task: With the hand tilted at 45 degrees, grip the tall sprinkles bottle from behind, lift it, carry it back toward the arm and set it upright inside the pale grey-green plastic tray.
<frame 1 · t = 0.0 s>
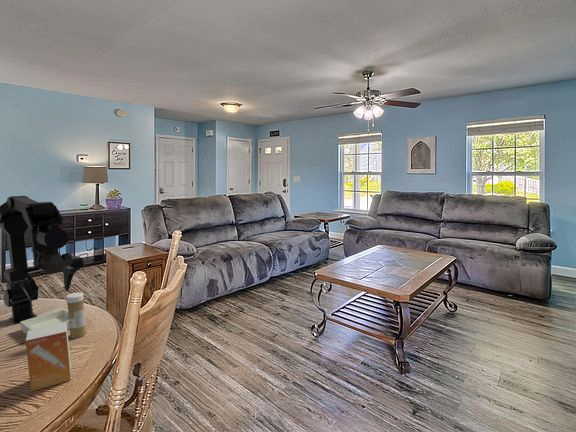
hand: (49, 295, 100), 15 cm above the table, tool pointing down, fingers open, 9 cm apart
small box: (52, 380, 83), on the table
tray: (51, 327, 111), on the table
sprinkles bottle: (78, 335, 106), on the table
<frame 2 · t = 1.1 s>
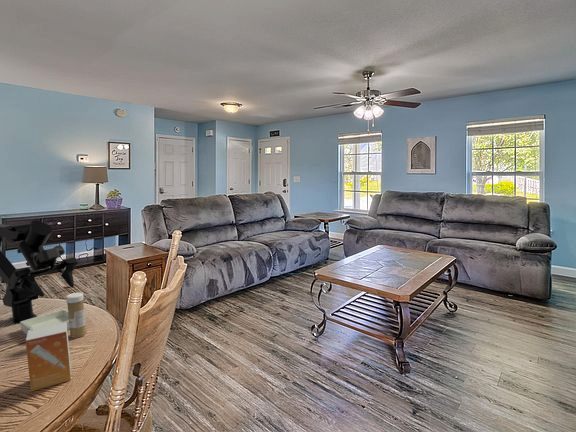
hand: (58, 291, 107), 13 cm above the table, tool tilted 45°, fingers open, 9 cm apart
nothing on the table moved.
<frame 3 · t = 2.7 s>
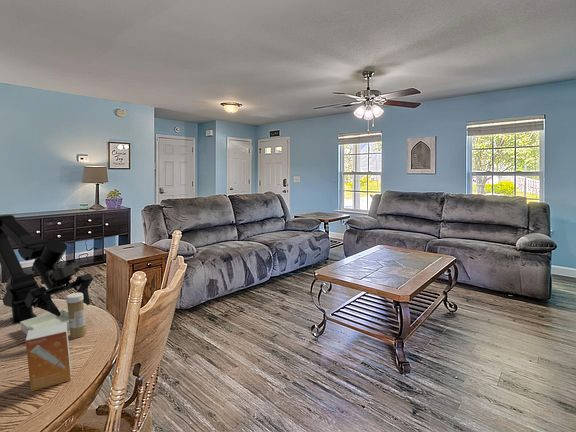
hand: (74, 309, 105), 8 cm above the table, tool tilted 45°, fingers open, 9 cm apart
nothing on the table moved.
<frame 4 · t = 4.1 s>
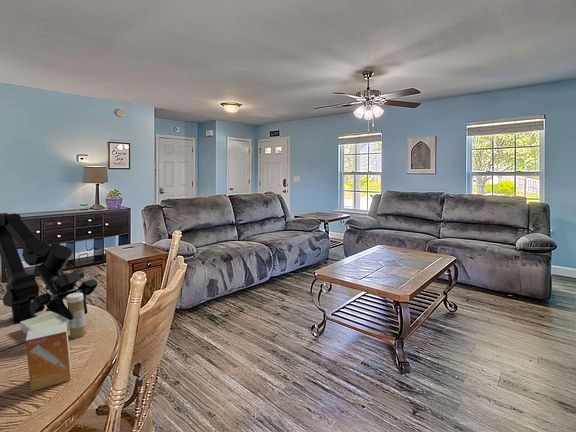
hand: (79, 316, 104), 7 cm above the table, tool tilted 45°, fingers closed on sprinkles bottle, 4 cm apart
sprinkles bottle: (78, 335, 106), on the table, touching gripper
everything else where it was.
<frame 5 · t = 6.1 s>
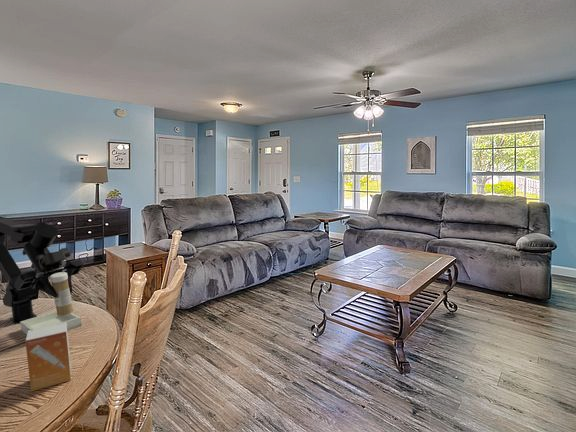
hand: (64, 294, 106), 13 cm above the table, tool tilted 45°, fingers closed on sprinkles bottle, 4 cm apart
sprinkles bottle: (65, 313, 108), point 6 cm above the table, touching gripper
everything else where it was.
when the fingers open (9 cm above the table, at t = 8.0 s): sprinkles bottle drops 1 cm, resting on tray.
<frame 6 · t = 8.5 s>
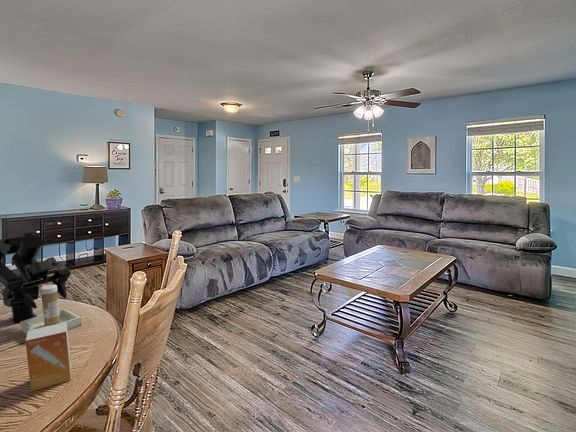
hand: (51, 302, 109), 9 cm above the table, tool tilted 45°, fingers open, 9 cm apart
sprinkles bottle: (52, 325, 111), point 1 cm above the table, touching tray
everything else where it was.
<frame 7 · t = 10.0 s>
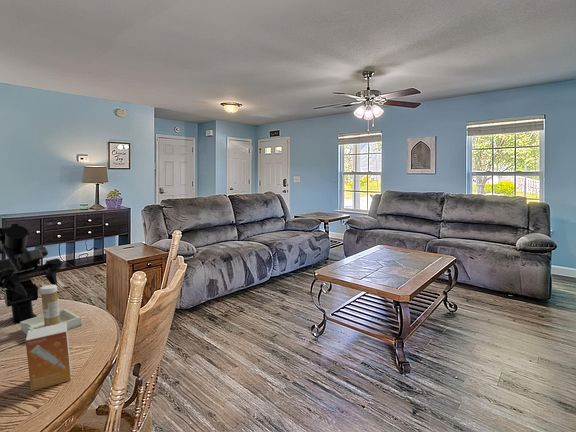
hand: (42, 291, 111), 12 cm above the table, tool tilted 45°, fingers open, 9 cm apart
nothing on the table moved.
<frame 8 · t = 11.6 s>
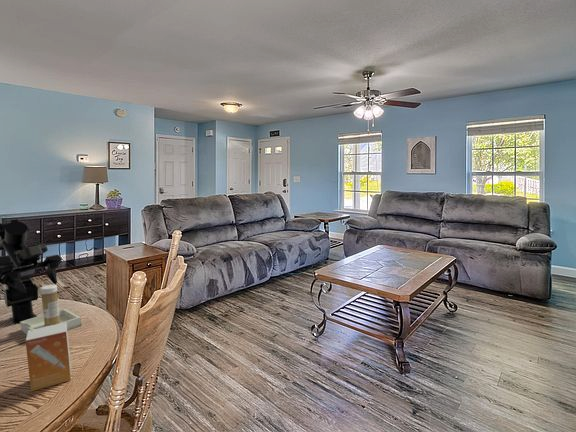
hand: (41, 287, 110), 14 cm above the table, tool tilted 45°, fingers open, 9 cm apart
nothing on the table moved.
at the end: sprinkles bottle inside the target area on the tray (0.4 cm from its centre), point 0.6 cm above the tray's base; sprinkles bottle tilted 0°; the gripper is holding nothing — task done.
